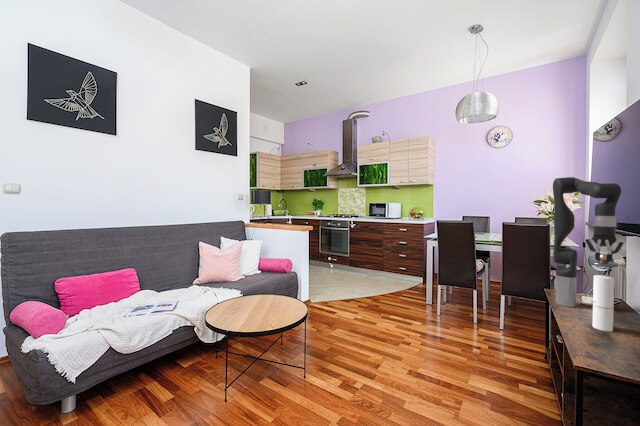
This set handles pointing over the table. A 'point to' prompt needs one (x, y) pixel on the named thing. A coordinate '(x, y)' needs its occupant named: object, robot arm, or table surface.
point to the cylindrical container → (603, 302)
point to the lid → (603, 261)
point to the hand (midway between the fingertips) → (603, 260)
